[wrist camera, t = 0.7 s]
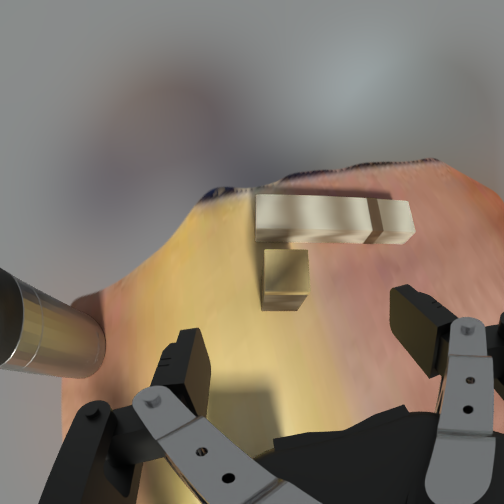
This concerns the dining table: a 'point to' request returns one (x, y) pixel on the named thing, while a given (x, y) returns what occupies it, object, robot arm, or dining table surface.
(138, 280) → the dining table surface
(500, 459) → the robot arm
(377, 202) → the board
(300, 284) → the brown rectangular block
